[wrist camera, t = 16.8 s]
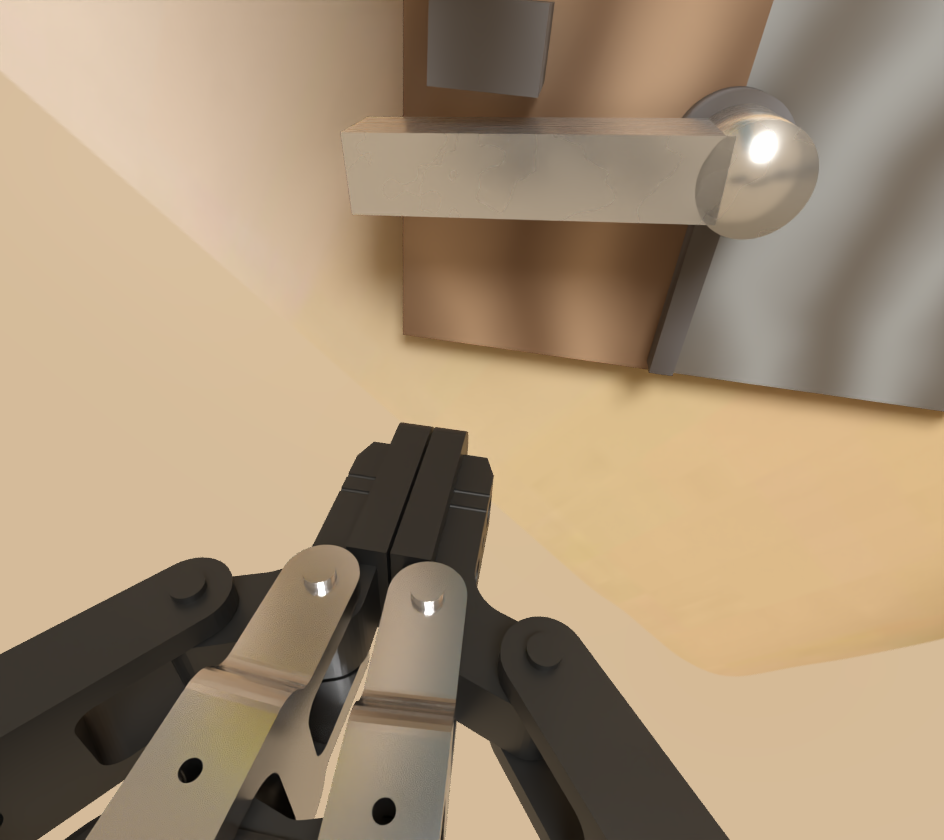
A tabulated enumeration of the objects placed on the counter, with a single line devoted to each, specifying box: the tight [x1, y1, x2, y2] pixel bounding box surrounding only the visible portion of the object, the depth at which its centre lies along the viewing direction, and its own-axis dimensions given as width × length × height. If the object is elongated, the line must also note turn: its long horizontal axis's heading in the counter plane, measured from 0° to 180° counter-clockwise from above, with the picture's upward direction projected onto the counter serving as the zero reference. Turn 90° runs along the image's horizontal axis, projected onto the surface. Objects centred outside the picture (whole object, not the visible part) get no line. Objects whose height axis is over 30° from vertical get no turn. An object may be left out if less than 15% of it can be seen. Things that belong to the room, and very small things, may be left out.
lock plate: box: [403, 0, 944, 411], centre depth 24 cm, size 30×18×6 cm, turn 85°
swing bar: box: [340, 104, 819, 240], centre depth 22 cm, size 17×4×4 cm, turn 91°
